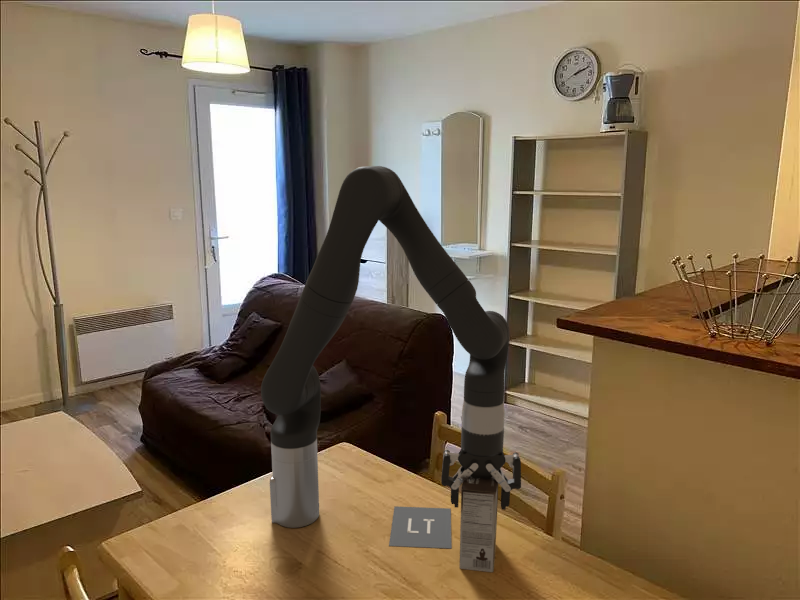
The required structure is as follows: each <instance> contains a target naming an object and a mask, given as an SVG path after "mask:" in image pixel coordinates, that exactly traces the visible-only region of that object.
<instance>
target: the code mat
mask: <svg viewBox="0 0 800 600" xmlns="http://www.w3.org/2000/svg"><path fill="white" fill-rule="evenodd" d="M452 545H453V544H452V510H451V508H449V507H446V508H443V507H441V508H440V507H419V506H417V507H416V506H413V507H412V506H398V505H397V506H394V507H393V515H392V523H391V530H390V536H389V542H388V547H396V548H397V547H401V548H419V549H420V548H423V549H424V548H425V549H446V550H447V549H448V550H451V549H452Z"/></svg>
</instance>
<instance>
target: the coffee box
mask: <svg viewBox="0 0 800 600" xmlns="http://www.w3.org/2000/svg"><path fill="white" fill-rule="evenodd" d="M460 490H461V493H460V494H461V495H460V529H459V530H460V535H459V537H460V538H459V539H460V540H459V569H462V570H470V571H477V572H486V573H494V570H495V558H496V548H497V547H496V546H497V545H496V544H497V543H496V542H497V525H498V502H499V501H498V499H499V483H498V482H497V481H496V480H495V478H494V477H491V478H490V479H485V478H472V477H471V476H469V478H468V479H467V480H466V481H465V482H463V483H462V484H461V489H460Z"/></svg>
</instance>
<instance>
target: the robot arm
mask: <svg viewBox="0 0 800 600" xmlns="http://www.w3.org/2000/svg"><path fill="white" fill-rule="evenodd" d="M378 222H380V223H381V224H382V225H383V226H384V227H386V228H387V230H388V231H389V232H390V233H391V234H392V235H393V236H394V238H395V239H396V241H397V242H398V244H399V246H401V248H402V250H403V252H404V254H405V256H406V258H407V260H408V262H409V264H410V268H411V269H412V271H413V273H414V276H415V277H416V279H417V281H418V283H419V284H420V285H421V286H422V288H423V289H424V291H426V293H427V294H428V295H429V297H430V298H431V299H432V301H433V302H434V303H435V305H437V307H438V308H439V310H440V311H441V312H442V313H443V315H444V317H445V318H446V319H445V320H446V321H447V323H448V325H449V327H450V328H451V330H452V333H453V335H454V336H455V338H456V339H457V341H458V342H459V344H460V346H461V347H462V349H464V350H465V351H466V352H467V353H468V354H469V363H468V365H467V366H468V367H467V369H466V371H465V375H464V384H463V403H462V408H461V409H462V410H461V429H460V431H461V433H460V436H461V437H460V450H459V452H458V453H457V452H451V451H450V450H449V449H444V450H443V455H442V466H441V467H442V468H441V482H440V483H441V485H442V486H444V487H449V488H450V503H451V505H454V508H459V500H460V498H459V497H460V494H459V493H460V486H462V483H463V482H465V481H466V480H467V479H468V478H469V476H471V477H472V478H485V479H490V478H491V477H494V478H495V480H496V481H497V482H498V485H500V487H501V490H500V508H501V510H502V511H503V510H504V511H505V510H506V509H507V508H509V506H510V499H511V491H513V490H514V489H517V490H519V489H521V488H522V465H521V464H522V461H521V457H520V454H519V452H516V451H515V452H513V453H512V454H504V440H505V439H504V438H505V436H504V435H505V416H506V415H505V414H506V413H505V370H506V365H507V359H508V352H509V346H510V345H509V344H510V327H509V324H508V321H507V320H506V318H505V317H504V316H503V315H502V314H500V313H498V312H497V311H493V310H492V311H491V310H484V308H483V307H482V305H481V304H480V302H479V301H478V298H477V291H476V289H475V286H474V285H473V284H472V281H470V279H469V278H468V277H467V276H466V275H465V273H464V272H463V271H462V270H461V268H460V267H459V266H458V264H456V262H455V261H454V260H453V259H452V257H451V256H450V254H448V252H447V251H446V249H445V248H444V247H443V246H442V244H441V242H440V241H439V240H438V239H437V237H436V236H435V235H434V233H433V231H432V230H431V229H430V227H429V226H428V224H427V223H426V221H425V220H424V218H423V217H422V215H421V213H420V211H419V210H418V208H417V206H416V204H415V203H414V201H413V200H412V197H411V196H410V194H409V192H408V190H407V189H406V187H405V185H404V183H403V182H402V180H401V178H400V177H399V176H398V174H397V173H396V172H395V171H394V170H393V169H391V168H389V167H386V166H381V165H367V166H359V167H357V168H355V169H353V170H352V171H351V172H349V173H347V175H346V177H345V178H344V179H343V182H342V183H341V186H340V189H339V192H338V196H337V198H336V202H335V206H334V209H333V212H332V216H331V220H330V223H329V227H328V230H327V233H326V235H325V237H324V240H323V243H322V244H321V247H320V250H319V251H318V254H317V256H316V258H315V261H314V264H313V266H312V269H311V270H310V272H309V275H308V277H307V279H306V282H305V284H304V287H303V289H302V292H301V295H300V297H299V300H298V302H297V306H296V307H295V310H294V312H293V315H292V317H291V319H290V322H289V325H288V328H287V331H286V333H285V334H284V335H285V336H284V338H283V340H282V342H281V345H280V347H279V349H278V351H277V353H276V354H275V357H274V358H273V360H272V361H271V363H270V366H269V367H268V369H267V370H266V373H265V374H264V377H263V379H262V382H261V386H260V395H261V400H262V403H263V405H264V407H265V408H266V409H267V410H268V411H269V412H270V413H272V414H275V415H277V417H276V418H275V421H274V422H273V424H272V426H271V428H270V449H271V451H270V452H271V469H272V470H271V471H272V473H271V474H272V475H271V477H270V478H269V492H270V498H269V499H270V516H271V517H270V518H271V520H270V521H271V523H274V524H277V525H280V526H282V527H285V528H301V527H306V526H308V525H311V524H313V523H314V522H315V521H317V519H318V518H319V516H320V494H319V493H320V491H319V466H318V465H319V464H318V461H319V460H318V459H319V457H318V429H319V426H320V423H321V412H322V411H321V410H322V408H321V406H322V405H321V404H322V403H321V402H322V400H321V399H322V398H321V397H322V387H321V379H320V375H319V373H318V371H317V369H316V367H315V366H314V364H315V362H316V360H317V359H318V357H319V356H320V354H321V353H322V351H323V350H324V349H325V348H326V346H327V345H328V344H329V343H330V341H331V340H332V338H333V337H334V336H335V334H337V332H338V330H339V329H340V327H341V326H342V324H343V322H344V321H345V319H346V317H347V315H348V313H349V311H350V309H351V306H352V303H353V302H354V299H355V297H356V293H357V290H358V286H359V283H360V272H361V271H360V270H361V260H362V256H363V253H364V249H365V247H366V245H367V244H368V241H369V238H370V236H371V234H372V232H373V231H374V229H375V228H376V226H377V223H378ZM457 461H458V463H459V464H460V467H459V468H458V470H457V472H456V473H455V474H454V475H453V476H450V468H451V466H454V464H455V462H457ZM506 463H507V464H508V466H509V467H510V468H511V469H512V478H510V479H508V477H507V476H506V475H505V473H504V471H503V470H502V468H503V466H504V465H505V464H506Z"/></svg>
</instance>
